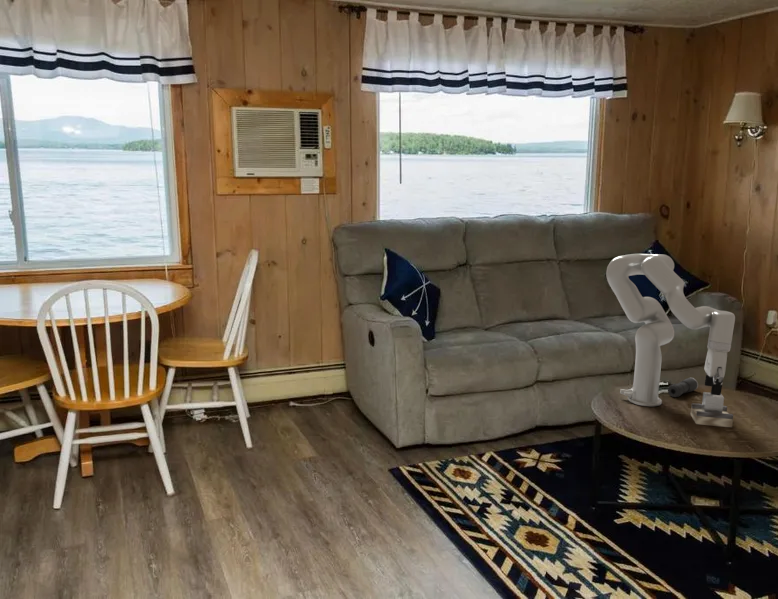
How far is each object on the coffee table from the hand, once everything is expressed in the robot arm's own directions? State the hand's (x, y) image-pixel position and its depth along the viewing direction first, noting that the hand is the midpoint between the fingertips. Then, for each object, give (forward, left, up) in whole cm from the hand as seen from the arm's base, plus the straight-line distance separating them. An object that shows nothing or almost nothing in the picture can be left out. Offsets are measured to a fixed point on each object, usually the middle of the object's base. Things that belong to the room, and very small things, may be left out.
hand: (712, 390), depth 247 cm
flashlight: (-4, +30, -12) cm, 32 cm away
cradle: (+1, 0, -12) cm, 12 cm away
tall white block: (0, 0, -9) cm, 9 cm away
